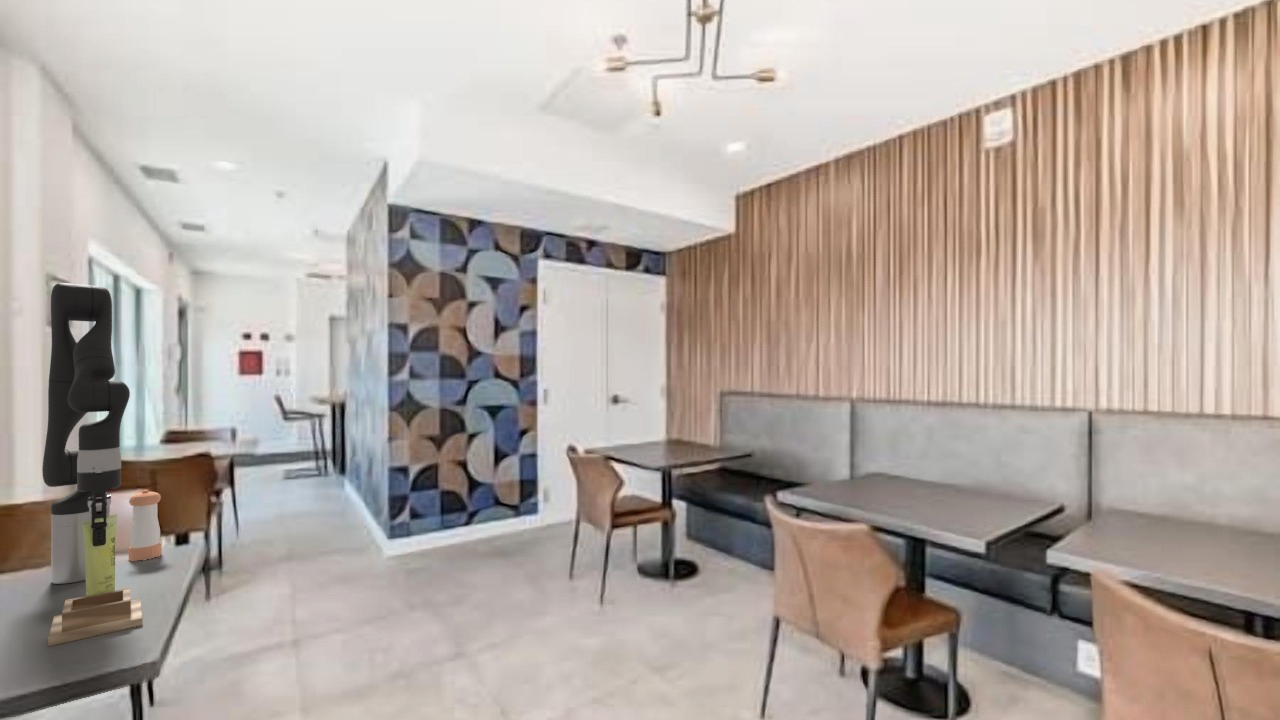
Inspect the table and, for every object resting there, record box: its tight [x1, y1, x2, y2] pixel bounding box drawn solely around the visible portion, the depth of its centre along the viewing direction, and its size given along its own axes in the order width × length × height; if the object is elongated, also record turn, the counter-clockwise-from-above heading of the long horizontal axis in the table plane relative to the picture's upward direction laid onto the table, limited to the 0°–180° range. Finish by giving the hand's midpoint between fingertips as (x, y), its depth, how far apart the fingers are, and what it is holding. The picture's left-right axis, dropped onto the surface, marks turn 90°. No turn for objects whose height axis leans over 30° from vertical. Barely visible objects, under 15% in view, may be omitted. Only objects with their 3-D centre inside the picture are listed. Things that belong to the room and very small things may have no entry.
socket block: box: [47, 587, 143, 647], centre depth 126 cm, size 14×14×5 cm
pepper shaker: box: [128, 489, 163, 562], centre depth 172 cm, size 7×7×19 cm
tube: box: [83, 513, 118, 596], centre depth 138 cm, size 6×5×20 cm
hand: (99, 542), depth 138 cm, fingers closed on tube, 4 cm apart
